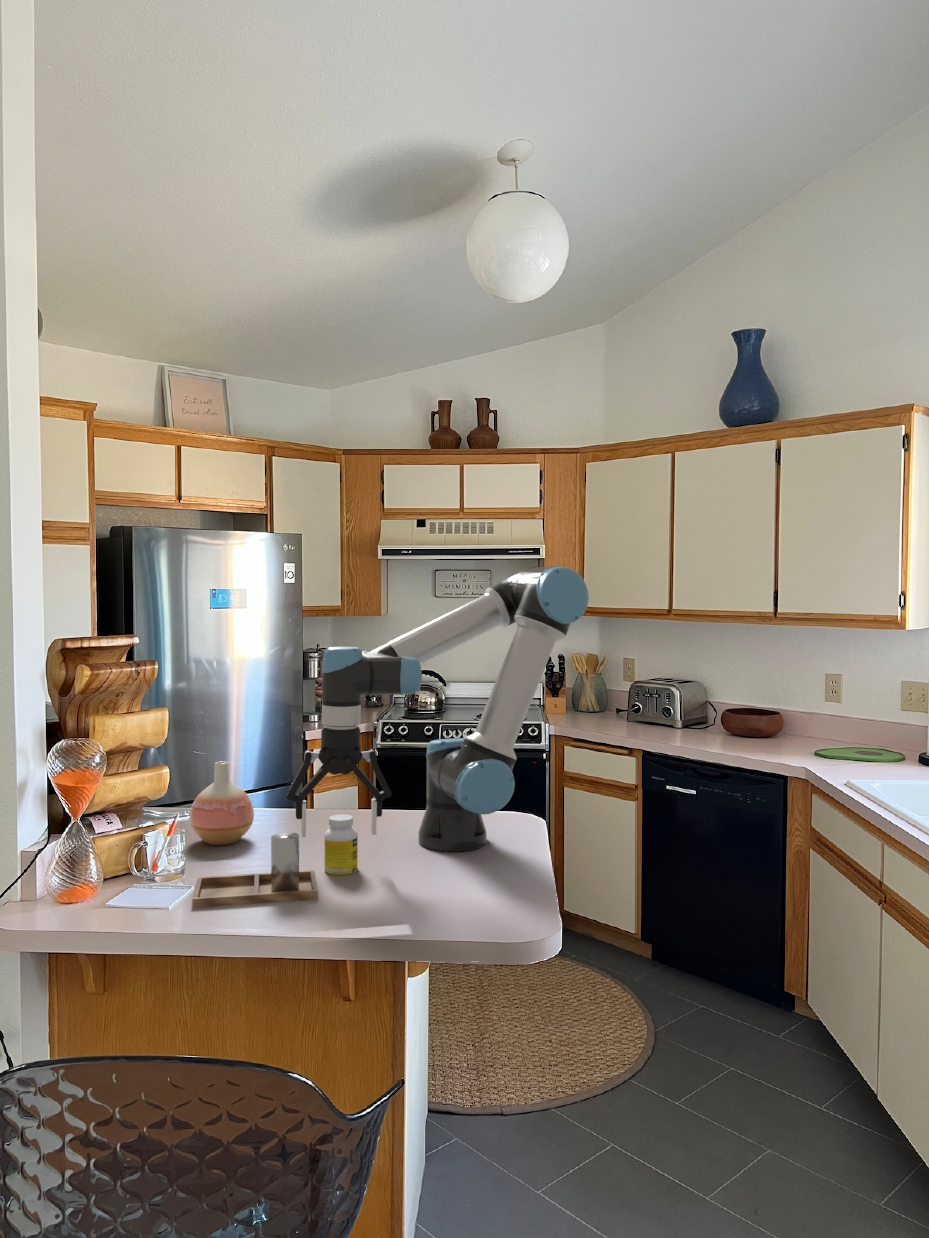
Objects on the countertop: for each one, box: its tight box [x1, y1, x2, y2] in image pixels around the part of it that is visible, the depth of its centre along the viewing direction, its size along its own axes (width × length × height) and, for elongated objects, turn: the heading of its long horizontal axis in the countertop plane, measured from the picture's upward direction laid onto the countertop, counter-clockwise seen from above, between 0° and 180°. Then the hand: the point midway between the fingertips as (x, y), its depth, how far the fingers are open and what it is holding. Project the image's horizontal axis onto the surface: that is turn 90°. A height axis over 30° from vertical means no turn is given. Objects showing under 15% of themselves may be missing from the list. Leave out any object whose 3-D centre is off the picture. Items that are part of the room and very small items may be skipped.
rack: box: [191, 869, 319, 909], centre depth 161 cm, size 21×12×3 cm, turn 102°
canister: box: [270, 831, 300, 892], centre depth 162 cm, size 5×5×10 cm
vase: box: [189, 760, 255, 846], centre depth 196 cm, size 14×14×18 cm
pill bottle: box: [323, 813, 359, 877], centre depth 174 cm, size 6×6×12 cm
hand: (338, 834), depth 173 cm, fingers open, 13 cm apart
